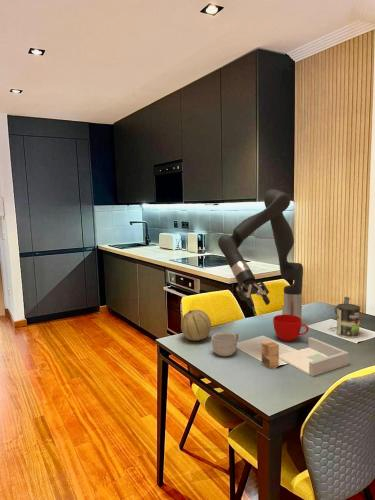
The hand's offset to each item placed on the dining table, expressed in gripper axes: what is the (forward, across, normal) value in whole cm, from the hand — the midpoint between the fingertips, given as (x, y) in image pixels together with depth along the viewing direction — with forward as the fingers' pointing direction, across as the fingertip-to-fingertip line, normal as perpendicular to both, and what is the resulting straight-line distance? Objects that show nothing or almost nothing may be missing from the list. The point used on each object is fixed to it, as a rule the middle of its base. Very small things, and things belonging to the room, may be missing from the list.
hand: (260, 305), depth 150 cm
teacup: (+8, -8, +25) cm, 27 cm away
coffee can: (+18, +53, +13) cm, 58 cm away
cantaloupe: (-7, -11, +40) cm, 42 cm away
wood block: (+21, -1, +11) cm, 24 cm away
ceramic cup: (+11, +26, +21) cm, 35 cm away
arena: (+26, +15, +6) cm, 31 cm away
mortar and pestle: (+8, +71, +24) cm, 75 cm away
